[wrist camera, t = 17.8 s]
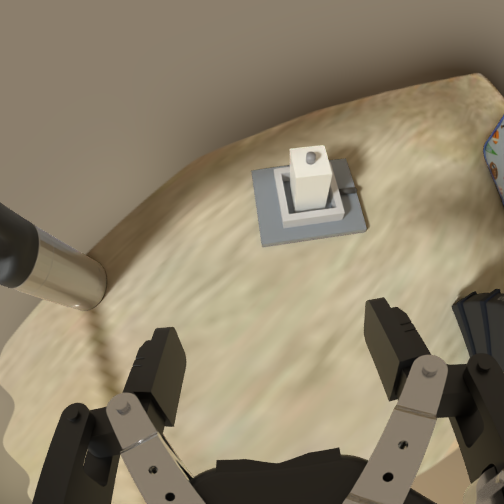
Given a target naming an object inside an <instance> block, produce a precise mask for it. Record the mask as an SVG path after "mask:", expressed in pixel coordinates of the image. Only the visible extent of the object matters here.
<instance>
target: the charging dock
mask: <svg viewBox="0 0 504 504" xmlns="http://www.w3.org/2000/svg"><path fill="white" fill-rule="evenodd" d="M329 164H330V167H331V171H332V178H331V183H330V187H329V192H328V196H327V201H326V205H325V209H323V210H315V211H308V212H300V213H295V211H294V205H293V200H292V194H291V189H290V165H287V166H280V167H273V168H266V169H259V170H253V171H251V172H252V179H253V186H254V193H255V200H256V207H257V214H258V221H259V228H260V236H261V243H262V247H268V246H275V245H281V244H288V243H295V242H301V241H308V240H315V239H322V238H328V237H335V236H342V235H349V234H356V233H362V232H365V231H366V230H367V228H366V224H365V221H364V217H363V213H362V210H361V206H360V203H359V199H358V196H357V189H356V188H355V186H354V182H353V179H352V176H351V173H350V170H349V167H348V164H347V161H346V159H337V160H329Z"/></svg>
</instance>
